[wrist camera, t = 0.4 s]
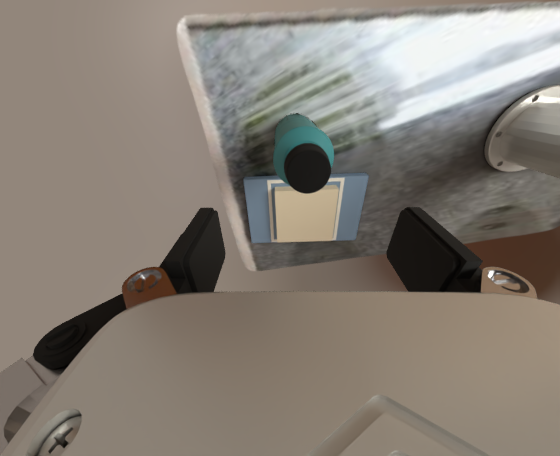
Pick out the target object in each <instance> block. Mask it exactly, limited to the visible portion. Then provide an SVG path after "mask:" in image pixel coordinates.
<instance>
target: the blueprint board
mask: <svg viewBox="0 0 560 456" xmlns="http://www.w3.org/2000/svg"><path fill="white" fill-rule="evenodd" d="M368 177H369V175H368V174H366V173H347V174H331V175H330V178H329V180H328V182H327V184H326V185H325V186H324V187H323V188H322V189H320V190H319V191H317V192H314V193H310V194H304V193H300V192H298V191H296V190H294V189H293V188H292V187H291V186H290V185H288V184H286V183H285V182H283V181H282V180H281V179H280V178H279V176H257V177H244V180H243V181H244V188H245V196H246V203H247V211H248V218H249V226H250V233H251V241H252V243H270V242H307V241H338V240H356V235H357V231H358V226H359V221H360V216H361V211H362V206H363V201H364V197H365V192H366V187H367V182H368Z"/></svg>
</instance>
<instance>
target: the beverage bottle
mask: <svg viewBox="0 0 560 456" xmlns="http://www.w3.org/2000/svg"><path fill="white" fill-rule="evenodd" d="M290 114H291V113H290ZM300 114H301V113H300ZM300 114H298V113H296V114H294V113H293V114H291V115H288V116H287V115H286V117H284V118H282V120H281V121H280V122H279V124H278V125H277V128H276V131H275V143H274V144H275V150H274V155H273V163H274V168H275V171H276V173H277V175H278V176H279V178H280V179H281V180H282V181H283V182H285V183H286V184H288V185H290V186H291V187H292V188H293V189H294V190H296V191H298V192H300V193H304V194H310V193H314V192H317V191H319V190H320V189H322V188H323V187H324V186H325V185H326V184H327V182H328V180H329V178H330V175H331V167H332V164H333V160H334V150H333V146H332V143H331V141H330V139H329V138H328V136H327V135H326V134H325V133H324V132H322V131H321V130H319V129H318V128H317V126H315V125H314V124H313V123H312V122H313V121H312V120H311V121H312V122H311V121H310V120H309V118H306V117H307V116H306V117H305V116H303V114H302V115H300Z"/></svg>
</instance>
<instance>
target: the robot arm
mask: <svg viewBox="0 0 560 456" xmlns="http://www.w3.org/2000/svg"><path fill="white" fill-rule="evenodd" d="M484 151H485V158H486V160H487V162H488V163H489V165H490V166H492V167H493V168H495V169H498V170H500V171H505V172H515V171H520V170H523V169H526V168H529V169H532V170H535V171H538V172H541V173H545V174H548V175H551V176H554V177H557V178H560V85H556V86H547V87H543V88H540V89H538V90H535V91H533V92H531V93H529V94H527V95H525V96H524V97H522V98H521V99H519V100H518V101H516V102H515V103H514V104H512V105H511V106H510V107H509V108H508V109H507V110H506V111H505V112H504V113H503V114H502V115H501V116H500V118H499V119H498V120H497V121H496V123H495V124H494V126H493V127H492V129H491V131H490V133H489V135H488V137H487V140H486V143H485V150H484ZM387 258H388V260H389V261H390V263H391V265H392V266H393V268H394V269H395V271H396V273H397V274H398V276H399V277H400V279H401V281H402V282H403V284H404V285H405V287H406V289H407V290H408V292H365V291H363V292H362V291H359V292H357V291H356V292H351V291H346V292H345V291H344V292H343V291H339V292H338V291H334V292H333V291H313V292H312V291H307V292H306V291H304V292H303V291H300V292H297V291H296V292H294V291H289V292H288V291H287V292H286V291H285V292H214V289H215V286H216V283H217V280H218V277H219V274H220V271H221V268H222V265H223V262H224V259H225V248H224V243H223V238H222V233H221V228H220V223H219V217H218V212H217V211H214V210H213V208H200V209H199V211H198V212H197V214H196V215H195V217H194V218H193V220H192V221H191V223H190V224H189V225H188V227H187V228H186V230H185V232H184V233H183V234H182V235H181V236H180V237H179V239H178V240H177V242H176V243H175V245H174V246H173V248H172V249H171V250H170V252H169V253H168V255H167V256H166V258H165V259H164V261H163V262H162V264H161V265H160V267H149V268H145V269H142V270H140V271H137V272H135V273H134V274H132V275H131V276H130V277H128V279H127V280H125V282H124V283H123V285H122V294H120V295H118V296H116V297H114V298H113V299H110V300H108V301H106V302H104V303H102V304H100V305H98V306H96V307H94V308H92V309H90V310H88V311H86V312H84V313H82V314H80V315H78V316H76V317H74V318H72V319H70V320H69V321H66V322H64V323H62V324H61V325H59V326H57V327H55V328H54V329H53V330H51V331H50V332H49V333H47V334H46V335H45V336H44V337H43V338H42V339H41V340H40V341H39V343H38V344H37V346H36V347H35V349H34V353H33V356H31V357H30V358H28V359H27V360H24V359H23V358H21V359H20V360H18V361H17V362H15V363H14V364H12V365H11V366H9V367H8V368H6V369H5V370H4V371H2V372H1V373H0V456H560V305H558V304H555V303H551V302H547V301H543V300H540V299H538V298H537V295H536V291H535V289H534V287H533V286H532V285H531V284H530V282H528V281H527V280H526V279H524V278H523V277H521V276H519V275H517V274H515V273H513V272H511V271H508V270H505V269H502V268H497V267H487V268H484V269H483V270H481V269H480V268H479V266H480V265H481V263H482V260H481V259H480V258H479V257H477V256H476V255H475V254H474V253H473V252H472V251H470V250H469V249H468V248H467V247H466V246H465V245H463V244H462V243H461V242H460V241H459V240H458V239H456V238H455V237H454V236H453V235H452V234H451V233H449V232H448V231H447V230H446V229H445V228H443V227H442V226H441V225H440V224H439V223H438V222H436V221H435V220H434V219H433V218H432V217H431V216H429V215H428V214H427V213H426V212H425V211H424V210H422V209H421V208H420V207H407V208H405V209H404V210H402V211H401V213H400V215H399V218H398V221H397V224H396V227H395V229H394V232H393V235H392V238H391V241H390V243H389V246H388V249H387Z"/></svg>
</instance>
